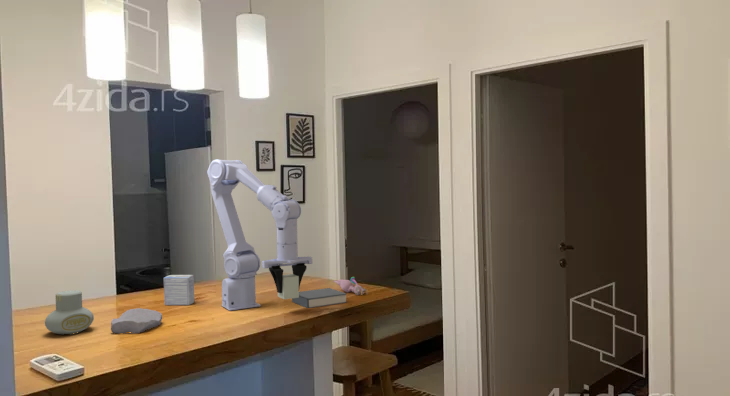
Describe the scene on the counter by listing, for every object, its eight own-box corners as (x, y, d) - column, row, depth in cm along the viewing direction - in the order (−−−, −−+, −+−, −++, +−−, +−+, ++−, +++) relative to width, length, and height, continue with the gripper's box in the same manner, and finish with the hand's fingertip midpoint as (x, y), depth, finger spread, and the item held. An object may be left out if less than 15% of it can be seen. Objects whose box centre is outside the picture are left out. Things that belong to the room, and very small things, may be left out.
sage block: (284, 299, 157) (283, 277, 157) (277, 296, 161) (277, 275, 160) (298, 297, 159) (298, 276, 159) (292, 294, 163) (292, 273, 163)
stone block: (164, 328, 152) (127, 321, 152) (167, 311, 152) (130, 304, 152) (146, 343, 140) (106, 335, 140) (149, 324, 140) (109, 316, 140)
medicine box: (195, 302, 176) (194, 274, 175) (189, 305, 171) (188, 277, 171) (170, 302, 176) (169, 274, 176) (164, 305, 172) (163, 277, 172)
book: (307, 309, 165) (307, 298, 165) (291, 302, 174) (291, 292, 174) (346, 303, 172) (346, 293, 171) (329, 297, 181) (329, 287, 181)
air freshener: (52, 339, 136) (50, 298, 136) (40, 333, 142) (39, 293, 142) (99, 330, 144) (97, 291, 144) (86, 324, 150) (84, 287, 150)
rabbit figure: (371, 298, 184) (341, 284, 195) (373, 280, 183) (343, 268, 194) (357, 301, 180) (327, 287, 191) (358, 283, 179) (328, 270, 190)
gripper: (268, 246, 152) (269, 296, 153) (316, 242, 160) (317, 290, 160) (258, 244, 158) (259, 292, 159) (306, 240, 166) (306, 286, 166)
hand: (288, 291), depth 160 cm, fingers closed on sage block, 4 cm apart
